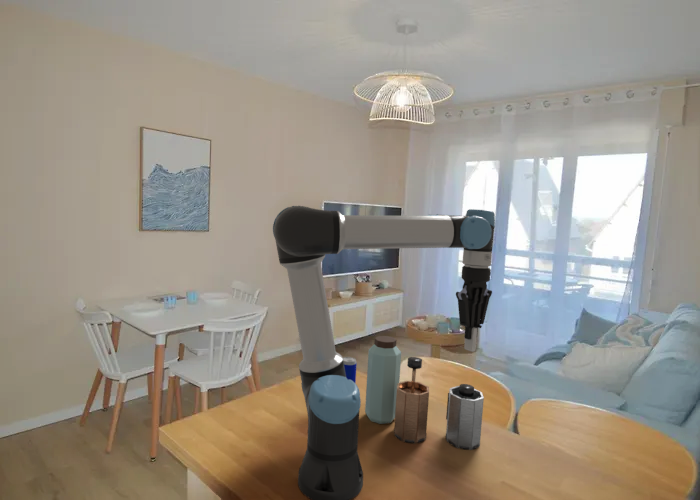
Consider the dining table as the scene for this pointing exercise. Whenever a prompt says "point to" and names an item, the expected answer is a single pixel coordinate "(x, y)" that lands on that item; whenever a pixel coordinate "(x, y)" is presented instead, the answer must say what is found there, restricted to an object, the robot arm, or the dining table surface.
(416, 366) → the copper press plunger
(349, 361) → the beverage can
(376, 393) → the water bottle
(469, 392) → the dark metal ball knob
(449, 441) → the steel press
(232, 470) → the dining table surface
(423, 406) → the copper press
